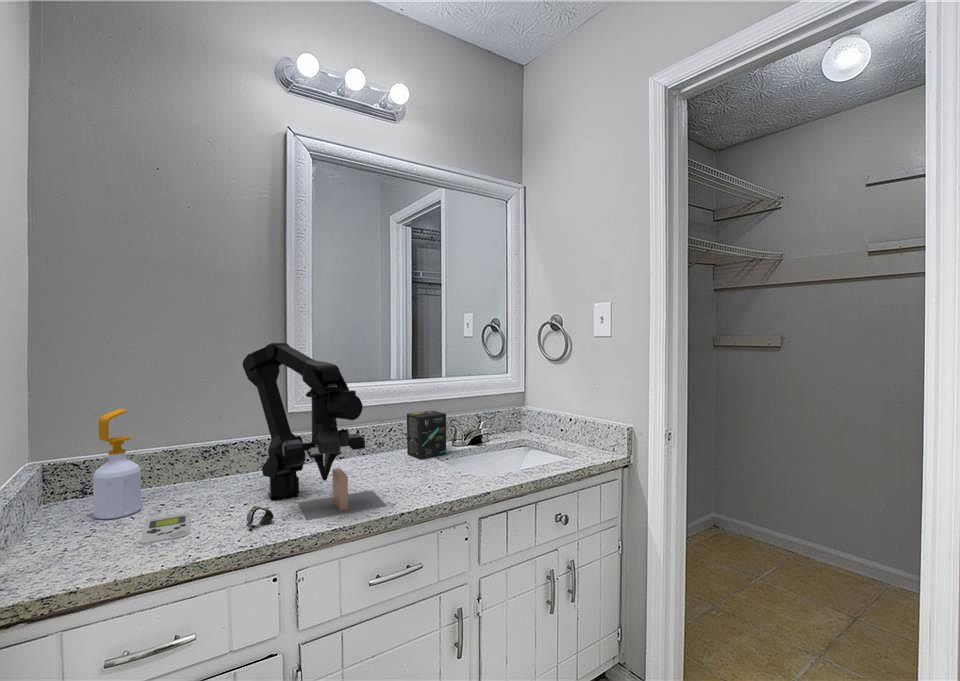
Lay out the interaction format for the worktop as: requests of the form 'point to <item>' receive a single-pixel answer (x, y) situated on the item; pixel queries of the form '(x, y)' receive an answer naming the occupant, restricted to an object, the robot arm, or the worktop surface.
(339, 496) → the tile
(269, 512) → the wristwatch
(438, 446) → the tampon box
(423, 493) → the worktop surface
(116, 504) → the soap bottle
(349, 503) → the mat
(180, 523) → the handheld gaming device
